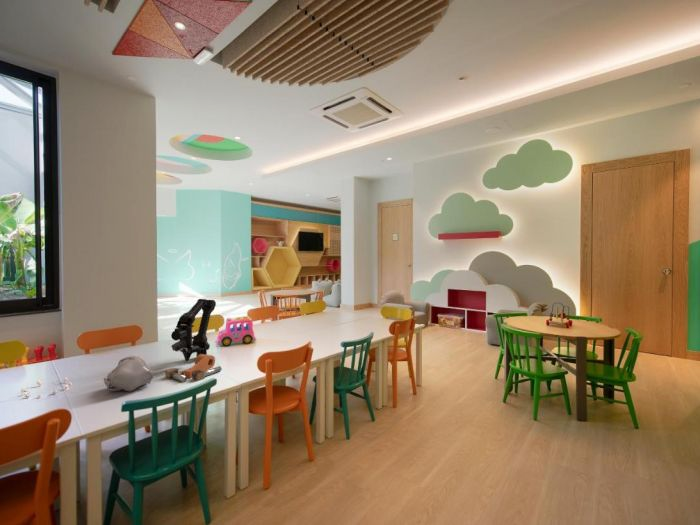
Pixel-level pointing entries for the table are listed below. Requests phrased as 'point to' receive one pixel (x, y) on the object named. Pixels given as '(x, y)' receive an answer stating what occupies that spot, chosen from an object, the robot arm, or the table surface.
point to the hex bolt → (174, 375)
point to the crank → (200, 364)
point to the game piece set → (40, 385)
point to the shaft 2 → (204, 373)
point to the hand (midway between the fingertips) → (186, 361)
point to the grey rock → (128, 375)
